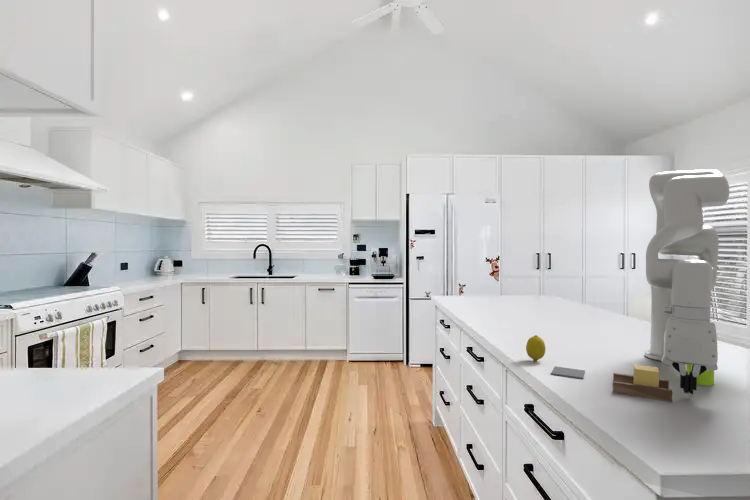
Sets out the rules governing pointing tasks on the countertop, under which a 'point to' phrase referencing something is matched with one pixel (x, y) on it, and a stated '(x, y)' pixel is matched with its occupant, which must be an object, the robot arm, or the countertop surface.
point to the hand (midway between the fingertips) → (688, 392)
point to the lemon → (535, 348)
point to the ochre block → (646, 375)
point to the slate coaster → (568, 372)
